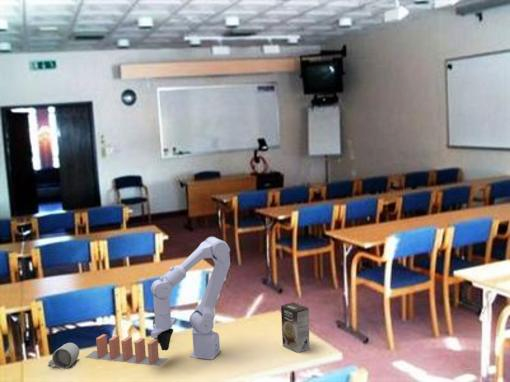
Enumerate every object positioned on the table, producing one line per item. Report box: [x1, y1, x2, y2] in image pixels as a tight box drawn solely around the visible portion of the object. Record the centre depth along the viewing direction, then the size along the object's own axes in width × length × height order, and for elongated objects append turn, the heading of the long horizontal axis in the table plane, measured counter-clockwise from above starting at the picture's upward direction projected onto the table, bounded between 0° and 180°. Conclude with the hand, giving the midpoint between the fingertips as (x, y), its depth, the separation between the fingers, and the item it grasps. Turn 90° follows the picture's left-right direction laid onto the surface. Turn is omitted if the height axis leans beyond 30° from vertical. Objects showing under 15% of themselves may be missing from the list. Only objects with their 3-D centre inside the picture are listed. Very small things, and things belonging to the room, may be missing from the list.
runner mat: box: [84, 350, 168, 367], centre depth 216 cm, size 32×6×1 cm, turn 70°
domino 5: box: [147, 338, 160, 364], centre depth 212 cm, size 2×4×8 cm, turn 160°
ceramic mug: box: [48, 342, 80, 369], centre depth 214 cm, size 11×8×8 cm
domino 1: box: [95, 333, 109, 358], centre depth 219 cm, size 2×4×8 cm, turn 160°
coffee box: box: [280, 301, 311, 353], centre depth 218 cm, size 9×6×16 cm
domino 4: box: [133, 337, 147, 362], centre depth 213 cm, size 2×4×8 cm, turn 160°
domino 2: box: [108, 335, 121, 359], centre depth 217 cm, size 2×4×8 cm, turn 160°
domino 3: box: [120, 336, 134, 361], centre depth 215 cm, size 2×4×8 cm, turn 160°
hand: (165, 349), depth 210 cm, fingers closed
